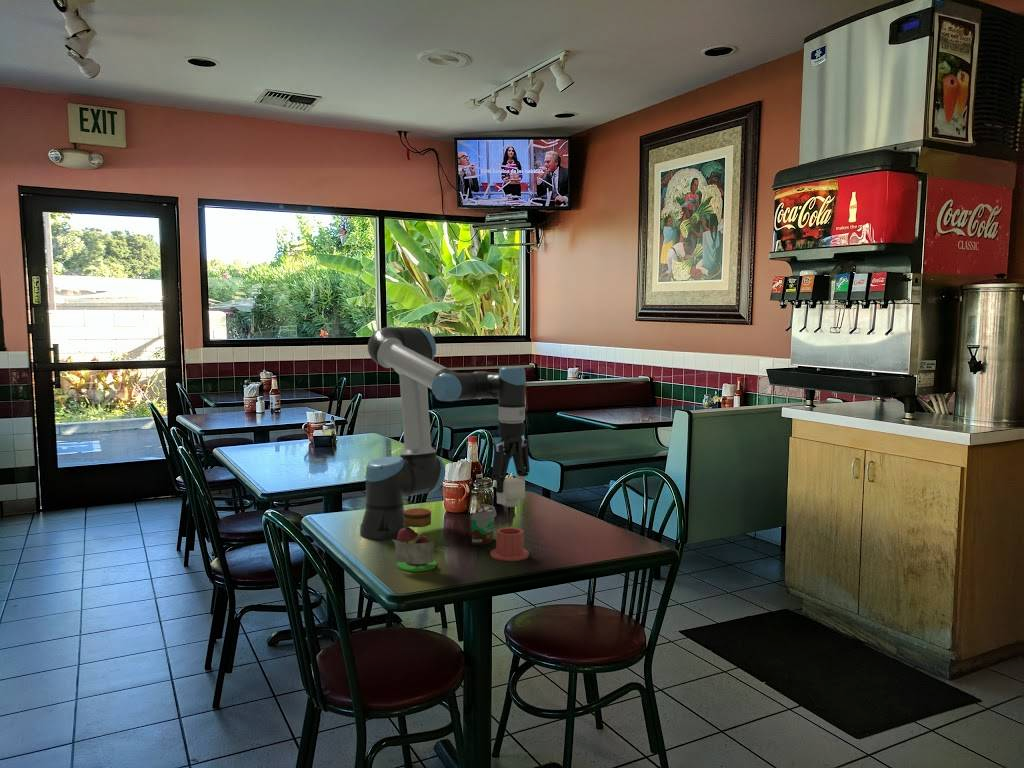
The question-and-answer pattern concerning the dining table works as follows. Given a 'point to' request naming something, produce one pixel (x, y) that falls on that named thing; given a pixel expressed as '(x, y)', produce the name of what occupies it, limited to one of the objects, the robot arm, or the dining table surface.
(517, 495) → the grey rounded piece
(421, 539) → the translucent plastic tub
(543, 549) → the dining table surface
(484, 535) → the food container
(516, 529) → the red flanged cylinder
